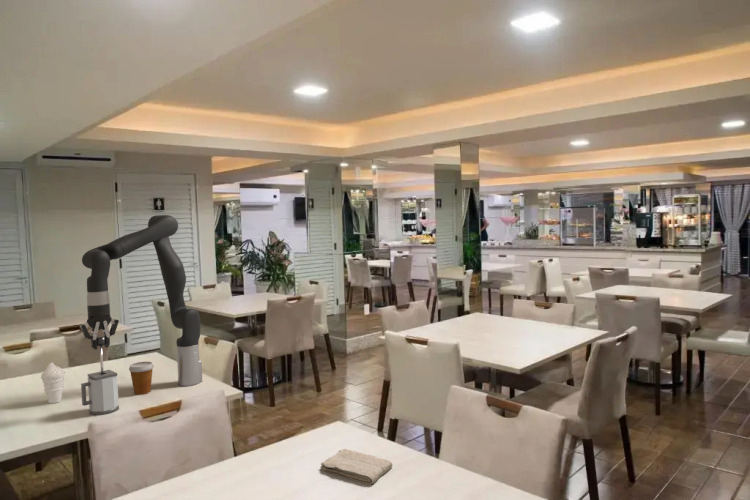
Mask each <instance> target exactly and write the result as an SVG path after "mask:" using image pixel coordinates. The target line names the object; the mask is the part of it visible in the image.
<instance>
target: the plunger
mask: <svg viewBox="0 0 750 500" xmlns="http://www.w3.org/2000/svg"><path fill="white" fill-rule="evenodd" d="M96 340H97V347H99V360H100V361H99V362H100V363H99V364H100V372H101V375H103V374H104V371H105V370H104V356H103V355H104V353H103V346H104V345H106V339H105V336H104V335H99V336H97V337H96Z"/></svg>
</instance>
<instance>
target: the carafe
mask: <svg viewBox="0 0 750 500" xmlns="http://www.w3.org/2000/svg"><path fill="white" fill-rule="evenodd" d="M118 383H119V382H118V372H116V371H113V370H111V369H106V370H104V374H103V375H101V371H96V372H92V373H87V382H83V383H80V387H81V389H80V390H81V403H82V406H84V407H85V406H87V405H88V407H89V408H88V409H89V414H90V415H92V416H102V415H108V414H113V413H115V412H117V411H118V410H119V409H120V407H119V406H120V404H119V387H118V385H119V384H118ZM87 390H88V391H87ZM87 392H88V400H87Z"/></svg>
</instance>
